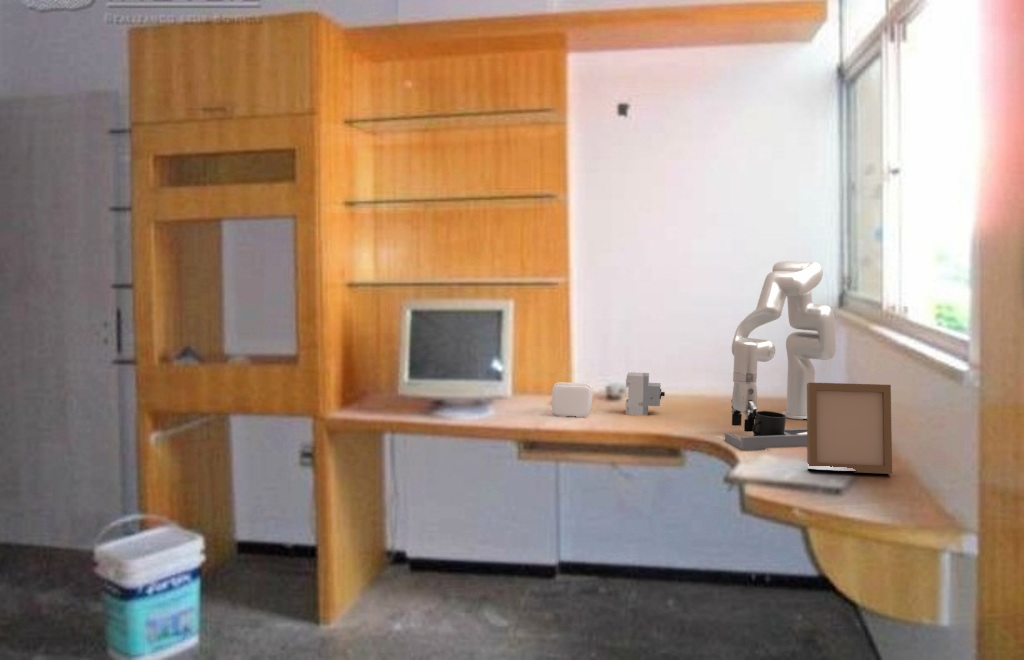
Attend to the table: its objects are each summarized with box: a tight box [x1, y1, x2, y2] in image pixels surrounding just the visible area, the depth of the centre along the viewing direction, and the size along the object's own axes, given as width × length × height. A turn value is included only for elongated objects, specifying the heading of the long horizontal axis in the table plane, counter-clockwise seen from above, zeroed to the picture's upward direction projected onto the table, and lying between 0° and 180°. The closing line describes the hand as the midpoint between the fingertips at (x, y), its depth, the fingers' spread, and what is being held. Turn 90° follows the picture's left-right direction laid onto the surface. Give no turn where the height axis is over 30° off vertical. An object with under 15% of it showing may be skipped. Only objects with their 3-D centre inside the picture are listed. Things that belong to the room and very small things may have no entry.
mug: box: [752, 410, 787, 436], centre depth 275 cm, size 9×12×9 cm
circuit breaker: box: [625, 372, 666, 416], centre depth 321 cm, size 8×14×15 cm, turn 78°
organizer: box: [724, 427, 807, 451], centre depth 274 cm, size 31×14×4 cm, turn 100°
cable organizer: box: [551, 381, 593, 418], centre depth 320 cm, size 15×11×12 cm
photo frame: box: [806, 382, 893, 475], centre depth 243 cm, size 15×22×25 cm
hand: (742, 428), depth 285 cm, fingers open, 9 cm apart
